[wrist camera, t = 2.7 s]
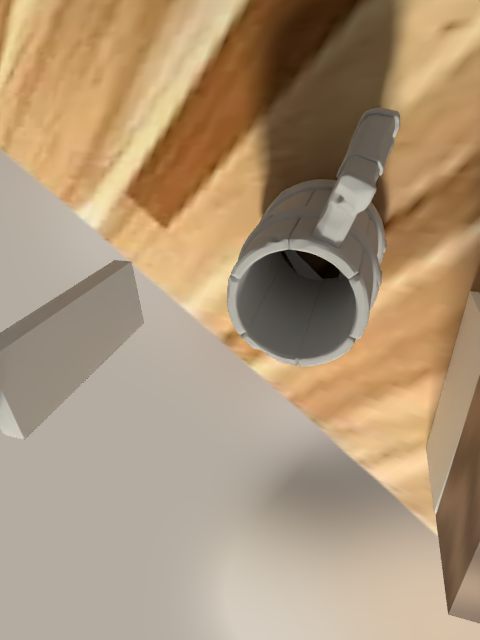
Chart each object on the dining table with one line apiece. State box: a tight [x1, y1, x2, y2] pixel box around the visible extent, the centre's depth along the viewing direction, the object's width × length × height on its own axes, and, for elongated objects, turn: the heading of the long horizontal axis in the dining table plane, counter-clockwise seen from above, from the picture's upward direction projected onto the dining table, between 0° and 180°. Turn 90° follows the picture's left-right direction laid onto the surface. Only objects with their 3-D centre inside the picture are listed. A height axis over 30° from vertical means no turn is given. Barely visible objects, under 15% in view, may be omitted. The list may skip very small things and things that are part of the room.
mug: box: [227, 107, 400, 366], centre depth 19 cm, size 8×12×12 cm, turn 162°
